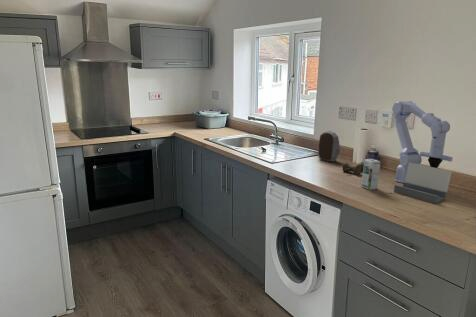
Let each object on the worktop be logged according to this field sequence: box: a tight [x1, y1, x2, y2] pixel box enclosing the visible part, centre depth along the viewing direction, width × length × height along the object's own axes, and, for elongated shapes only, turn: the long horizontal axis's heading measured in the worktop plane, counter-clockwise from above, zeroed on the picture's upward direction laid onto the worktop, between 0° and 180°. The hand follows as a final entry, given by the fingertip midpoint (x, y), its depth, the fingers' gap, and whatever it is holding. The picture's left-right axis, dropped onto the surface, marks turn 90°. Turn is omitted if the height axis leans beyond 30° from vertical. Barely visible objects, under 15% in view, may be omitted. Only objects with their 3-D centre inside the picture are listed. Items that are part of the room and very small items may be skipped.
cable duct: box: [393, 182, 447, 204], centre depth 173 cm, size 20×10×4 cm, turn 39°
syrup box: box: [360, 158, 382, 191], centre depth 182 cm, size 6×6×14 cm
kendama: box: [342, 161, 364, 176], centre depth 213 cm, size 6×10×20 cm
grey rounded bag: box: [317, 130, 341, 162], centre depth 238 cm, size 15×8×20 cm, turn 41°
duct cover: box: [405, 163, 453, 193], centre depth 176 cm, size 20×10×1 cm
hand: (433, 172), depth 179 cm, fingers closed
